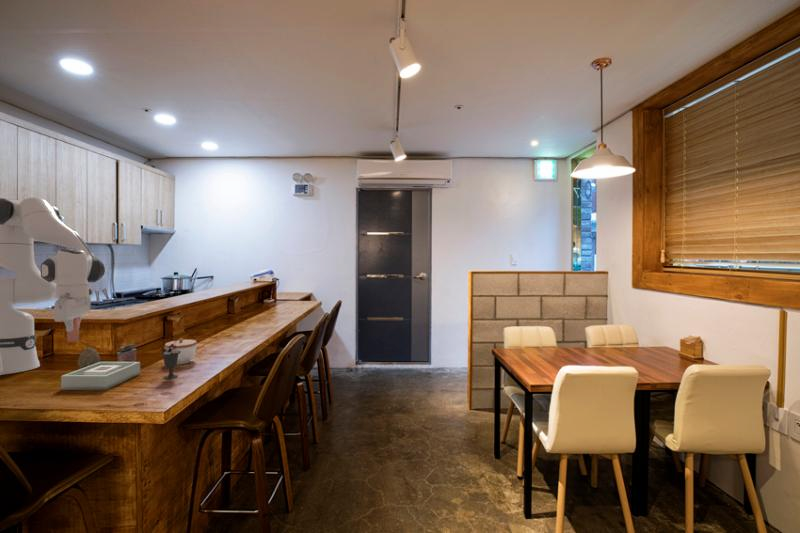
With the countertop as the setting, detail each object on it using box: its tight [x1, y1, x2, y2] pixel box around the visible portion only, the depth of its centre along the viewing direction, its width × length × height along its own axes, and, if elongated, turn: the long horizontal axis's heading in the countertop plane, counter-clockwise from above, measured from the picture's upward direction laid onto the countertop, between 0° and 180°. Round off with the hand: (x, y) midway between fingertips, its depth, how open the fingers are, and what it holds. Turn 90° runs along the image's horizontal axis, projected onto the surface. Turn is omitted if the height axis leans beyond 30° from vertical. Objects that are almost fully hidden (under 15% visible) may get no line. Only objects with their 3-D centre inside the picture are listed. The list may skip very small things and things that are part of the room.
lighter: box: [116, 343, 137, 362], centre depth 158 cm, size 8×3×10 cm, turn 168°
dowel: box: [66, 317, 80, 343], centre depth 134 cm, size 3×3×10 cm
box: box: [60, 361, 141, 391], centre depth 141 cm, size 16×18×5 cm
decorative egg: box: [77, 346, 101, 369], centre depth 153 cm, size 7×7×10 cm
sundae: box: [160, 339, 180, 380], centre depth 146 cm, size 7×7×15 cm
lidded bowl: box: [164, 337, 198, 365], centre depth 167 cm, size 13×13×11 cm
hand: (73, 330), depth 134 cm, fingers closed on dowel, 3 cm apart
